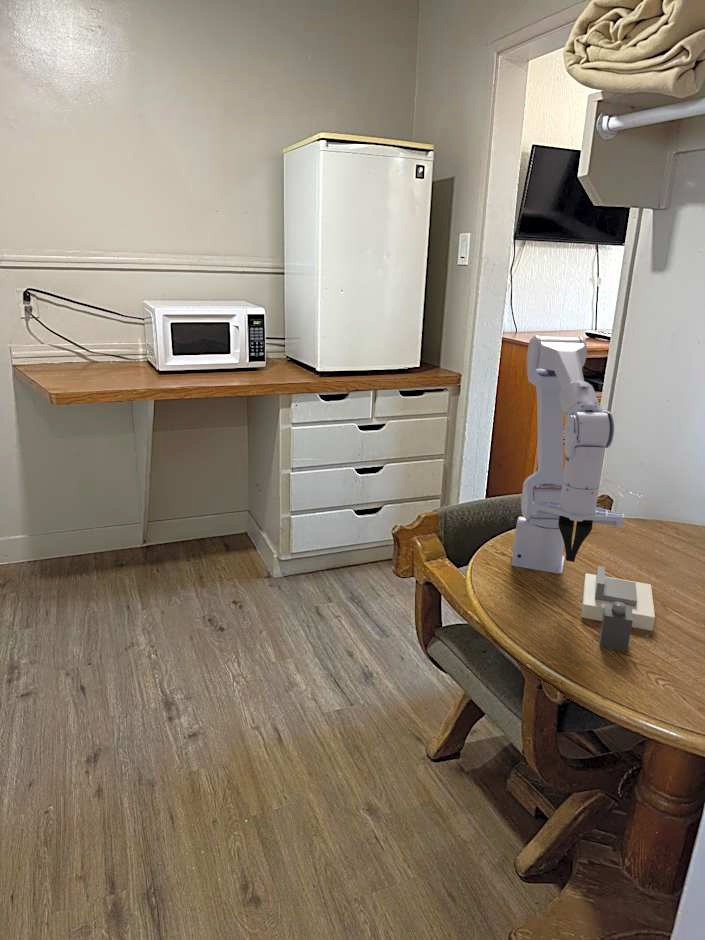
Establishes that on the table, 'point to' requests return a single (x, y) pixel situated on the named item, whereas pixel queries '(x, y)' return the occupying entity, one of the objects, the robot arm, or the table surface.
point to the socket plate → (640, 612)
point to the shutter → (614, 589)
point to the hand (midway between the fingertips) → (570, 559)
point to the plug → (616, 626)
